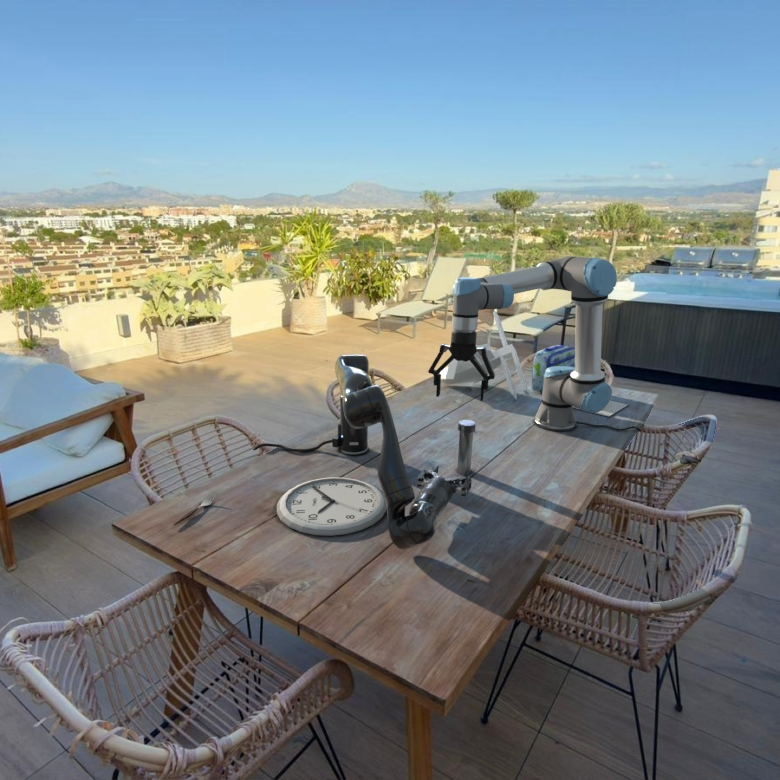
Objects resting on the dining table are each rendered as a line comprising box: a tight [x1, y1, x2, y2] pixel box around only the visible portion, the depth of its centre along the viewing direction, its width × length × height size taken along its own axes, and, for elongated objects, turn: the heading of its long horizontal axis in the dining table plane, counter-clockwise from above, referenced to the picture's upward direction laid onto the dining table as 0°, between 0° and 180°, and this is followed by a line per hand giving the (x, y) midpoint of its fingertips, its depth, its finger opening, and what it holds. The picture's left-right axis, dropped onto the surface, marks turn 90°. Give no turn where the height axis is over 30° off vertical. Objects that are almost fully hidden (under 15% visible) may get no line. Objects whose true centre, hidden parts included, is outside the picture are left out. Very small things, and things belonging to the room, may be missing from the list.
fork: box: [173, 490, 218, 526], centre depth 138 cm, size 3×16×2 cm, turn 160°
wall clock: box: [276, 476, 387, 537], centre depth 142 cm, size 30×2×30 cm
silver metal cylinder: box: [456, 431, 474, 475], centre depth 162 cm, size 4×4×16 cm
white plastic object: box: [439, 310, 531, 400], centre depth 245 cm, size 37×45×31 cm
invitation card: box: [573, 400, 629, 418], centre depth 226 cm, size 21×1×15 cm
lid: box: [457, 419, 476, 433], centre depth 160 cm, size 5×5×2 cm
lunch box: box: [531, 344, 575, 393], centre depth 246 cm, size 26×11×21 cm, turn 135°
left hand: (451, 471), depth 150 cm, fingers open, 8 cm apart
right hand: (459, 397), depth 163 cm, fingers open, 13 cm apart
